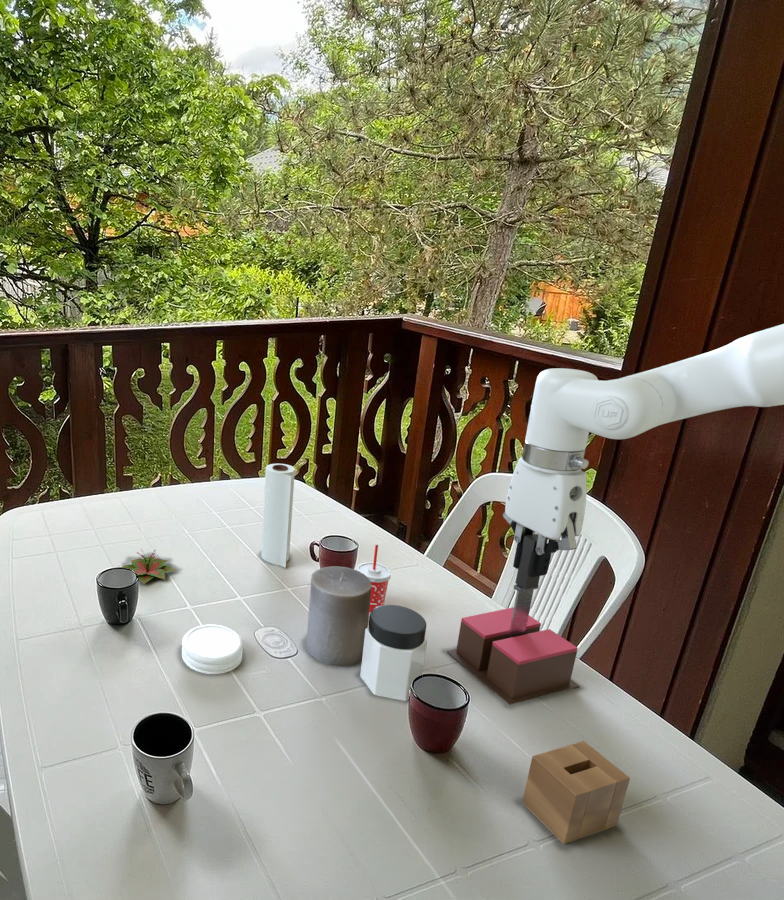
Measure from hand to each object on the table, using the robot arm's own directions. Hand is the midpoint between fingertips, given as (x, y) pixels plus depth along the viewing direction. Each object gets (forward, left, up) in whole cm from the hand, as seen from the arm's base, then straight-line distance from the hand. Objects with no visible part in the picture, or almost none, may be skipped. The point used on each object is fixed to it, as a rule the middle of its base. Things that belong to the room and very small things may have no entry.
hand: (529, 570), depth 96 cm
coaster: (+43, +21, -19) cm, 51 cm away
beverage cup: (+24, -6, -19) cm, 31 cm away
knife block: (-8, +27, -19) cm, 34 cm away
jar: (+16, +13, -19) cm, 28 cm away
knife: (0, 0, -13) cm, 13 cm away
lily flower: (+68, +2, -19) cm, 71 cm away
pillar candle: (+26, +9, -19) cm, 33 cm away
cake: (0, 0, -19) cm, 19 cm away
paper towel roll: (+47, -16, -19) cm, 53 cm away
